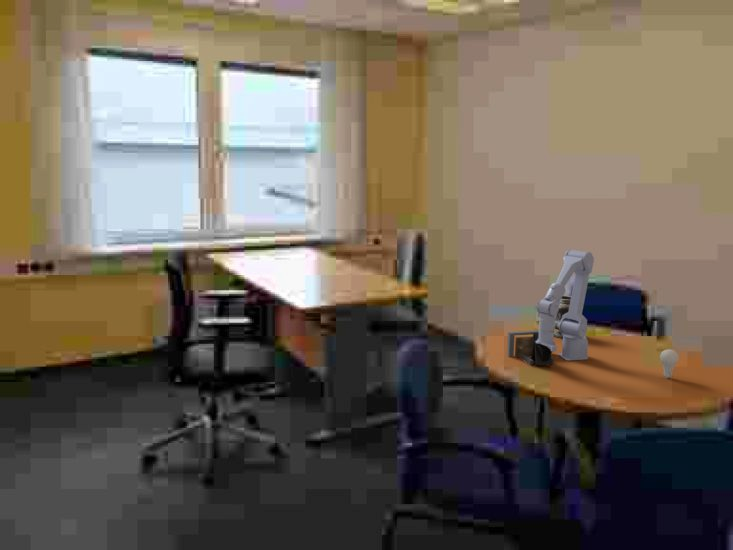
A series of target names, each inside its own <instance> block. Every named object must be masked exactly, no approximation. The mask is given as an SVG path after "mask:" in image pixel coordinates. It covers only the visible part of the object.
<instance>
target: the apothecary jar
mask: <svg viewBox="0 0 733 550" xmlns="http://www.w3.org/2000/svg"><path fill="white" fill-rule="evenodd" d="M571 296H572V295H570V296H569V295H563V296H562V298H561V300H560V305H559V310H558V312H557V314H556V315H555V324H554V330H557V331H554V336H555V337H554V338H557V337H559V339H563V336H562V333H561V332H560V331H559V324H560V322H561V319H562V316H563V315H564V314H566V313H568V312H569V306H570V301H571ZM570 320H573V319H570ZM573 321H576V320H573Z"/></svg>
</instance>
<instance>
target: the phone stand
mask: <svg viewBox="0 0 733 550" xmlns="http://www.w3.org/2000/svg"><path fill="white" fill-rule="evenodd" d="M532 337H533V345H532V353H531V356H530V358H531V359H532V360H533V364H535V365H536V366H552V365H553V364H552V358H553V357H552V355H551V356H550V358H549V361H546V362H542V359H541V355H540V352H539V350H538V348H537V345H540V344H537V343H536V342H535V341H537V339H538V337H539V333H533V334H532ZM551 357H552V358H551Z"/></svg>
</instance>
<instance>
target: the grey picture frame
mask: <svg viewBox="0 0 733 550" xmlns="http://www.w3.org/2000/svg"><path fill="white" fill-rule="evenodd" d="M533 333H539V329H538V330H519V331H507V347H506V348H507V350H506V356H508V357H509V356H513V357H515V336H528V335H530V336H531V335H532V336H533ZM552 353H553V352H552ZM552 353H551V355H552Z"/></svg>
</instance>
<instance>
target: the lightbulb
mask: <svg viewBox="0 0 733 550" xmlns="http://www.w3.org/2000/svg"><path fill="white" fill-rule="evenodd" d="M659 358H660V359H659V360H660V363H661V364H662V368H663V376H664V378H666V379H669V378H671V377H672V374H673V371H674V368H675V366H676V365H677V363H678V361H679V355H678V352H676V351H675V350H673V349H669V348H668V349H665V350H663V351H661V353H660V355H659Z"/></svg>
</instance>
